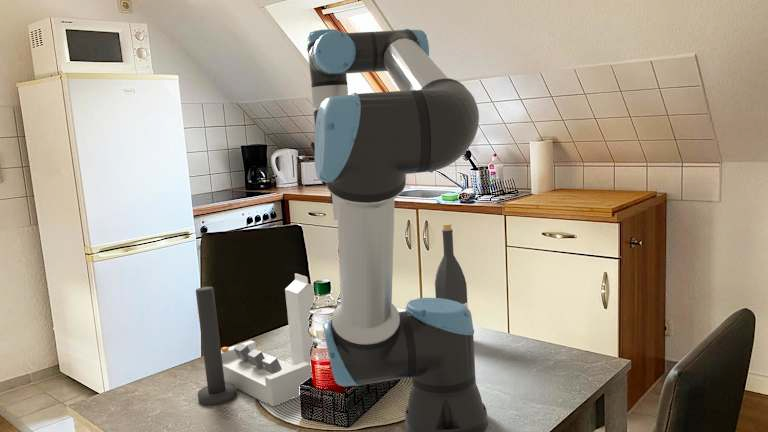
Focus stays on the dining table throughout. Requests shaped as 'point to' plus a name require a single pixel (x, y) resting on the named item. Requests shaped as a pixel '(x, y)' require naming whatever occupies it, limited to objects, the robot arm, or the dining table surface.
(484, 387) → the dining table surface
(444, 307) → the robot arm
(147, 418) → the dining table surface
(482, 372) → the dining table surface
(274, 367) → the paddle bank
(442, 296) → the wine bottle
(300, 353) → the milk
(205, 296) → the post
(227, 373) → the strip
